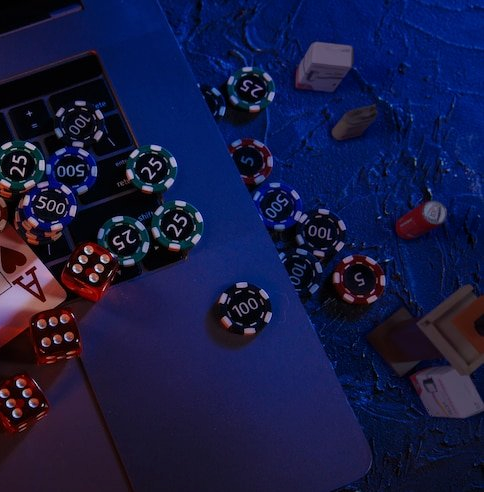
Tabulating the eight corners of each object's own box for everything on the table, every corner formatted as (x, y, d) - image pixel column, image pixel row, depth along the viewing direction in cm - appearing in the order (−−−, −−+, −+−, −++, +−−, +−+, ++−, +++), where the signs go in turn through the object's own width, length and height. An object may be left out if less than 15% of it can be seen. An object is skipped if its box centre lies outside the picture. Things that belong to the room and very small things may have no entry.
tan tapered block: (334, 142, 134) (351, 122, 124) (328, 126, 134) (345, 105, 125) (365, 134, 134) (385, 113, 124) (359, 118, 135) (378, 97, 125)
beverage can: (390, 234, 129) (417, 218, 117) (398, 213, 130) (426, 195, 118) (413, 245, 128) (443, 229, 116) (421, 223, 129) (452, 206, 118)
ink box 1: (294, 90, 137) (311, 61, 125) (295, 69, 138) (312, 39, 126) (334, 94, 136) (354, 66, 125) (334, 73, 137) (354, 44, 126)
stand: (401, 307, 125) (462, 288, 103) (435, 347, 123) (505, 336, 101) (364, 336, 124) (417, 323, 102) (398, 377, 122) (460, 373, 100)
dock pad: (462, 286, 103) (470, 283, 101) (507, 336, 101) (516, 335, 99) (415, 323, 102) (422, 321, 99) (460, 375, 100) (468, 375, 97)
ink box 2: (407, 375, 122) (437, 373, 110) (430, 365, 122) (462, 362, 111) (429, 417, 120) (462, 420, 109) (452, 407, 120) (487, 409, 109)
